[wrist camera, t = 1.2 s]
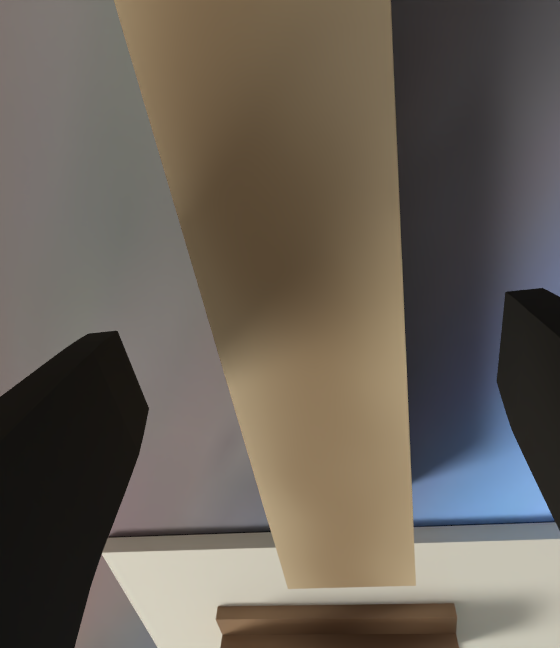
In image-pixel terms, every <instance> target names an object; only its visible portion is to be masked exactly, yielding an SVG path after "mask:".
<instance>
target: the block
mask: <svg viewBox="0 0 560 648" xmlns="http://www.w3.org/2000/svg"><path fill="white" fill-rule="evenodd" d="M216 622H217V624H218V626H219V629H220V631H221V633H222V640H221V647H220V648H459V645H458V640H457V635H456V628H457V614H456V609H455V605H454V603H430V604H356V605H282V606H218V608H217V614H216Z"/></svg>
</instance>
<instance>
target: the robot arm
mask: <svg viewBox="0 0 560 648" xmlns="http://www.w3.org/2000/svg"><path fill="white" fill-rule="evenodd" d="M497 384H498V388H499V391H500V394H501V398H502V401H503V404H504V408H505V411H506V414H507V417H508V420H509V423H510V426H511V429H512V431H513V434H514V436H515V438H516V440H517V442H518V444H519V447H520V449H521V451H522V453H523V455H524V457H525V459H526V461H527V464H528V466H529V468H530V470H531V472H532V474H533V476H534V478H535V480H536V483H537V485H538V487H539V489H540V491H541V493H542V495H543V497H544V499H545V501H546V503H547V506H548V508H549V510H550V512H551V514H552V516H553V518H554V520H555V522H556V524H557V526H558V529H559V531H560V297H559V296H557V295H555V294H553V293H551V292H549V291H547V290H545V289H543V288H539V289H529V290H519V291H509V292H505V302H504V312H503V322H502V333H501V343H500V353H499V363H498V373H497ZM148 410H149V408H148V405H147V403H146V400H145V398H144V395H143V393H142V390H141V388H140V385H139V383H138V380H137V378H136V375H135V373H134V371H133V368H132V366H131V363H130V361H129V358H128V356H127V353H126V351H125V348H124V346H123V343H122V341H121V338H120V336H119V333H118V331H110V332H100V333H90V334H87V335H85V336H84V337H82V338H80V339H79V340H77V341H76V342H74V343H73V344H71V345H70V346H68V347H67V348H65V349H64V350H63V351H61V352H60V353H58V354H57V355H56V356H54V357H53V358H52V359H50V360H49V361H48V362H46V363H45V364H44V365H42V366H41V367H40V368H38V369H37V370H36V371H34V372H33V373H32V374H30V375H29V376H28V377H26V378H25V379H24V380H22V381H21V382H20V383H18V384H17V385H16V386H14V387H13V388H12V389H10V390H9V391H8V392H6V393H5V394H4V395H2V396H1V397H0V648H74V647H75V643H76V639H77V636H78V632H79V628H80V624H81V621H82V617H83V613H84V609H85V606H86V602H87V598H88V594H89V591H90V587H91V584H92V581H93V578H94V575H95V572H96V569H97V566H98V563H99V560H100V557H101V555H102V552H103V549H104V547H105V544H106V541H107V539H108V536H109V533H110V531H111V528H112V525H113V523H114V520H115V518H116V515H117V512H118V510H119V507H120V504H121V502H122V499H123V496H124V494H125V491H126V488H127V486H128V483H129V480H130V478H131V475H132V472H133V469H134V467H135V464H136V461H137V458H138V455H139V452H140V448H141V443H142V439H143V435H144V430H145V425H146V420H147V415H148Z"/></svg>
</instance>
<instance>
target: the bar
mask: <svg viewBox="0 0 560 648" xmlns="http://www.w3.org/2000/svg"><path fill="white" fill-rule="evenodd" d="M114 2H115V5H116V9H117V12H118V16H119V19H120V22H121V26H122V29H123V32H124V36H125V39H126V43H127V46H128V49H129V53H130V56H131V60H132V63H133V66H134V70H135V73H136V76H137V80H138V83H139V87H140V90H141V93H142V97H143V100H144V104H145V107H146V110H147V114H148V117H149V120H150V124H151V127H152V131H153V134H154V137H155V141H156V144H157V147H158V151H159V154H160V158H161V161H162V164H163V168H164V171H165V175H166V178H167V181H168V185H169V188H170V191H171V195H172V198H173V202H174V205H175V208H176V212H177V215H178V219H179V222H180V225H181V229H182V232H183V235H184V239H185V242H186V246H187V249H188V252H189V256H190V259H191V263H192V266H193V269H194V273H195V276H196V279H197V283H198V286H199V290H200V293H201V296H202V300H203V303H204V307H205V310H206V313H207V317H208V320H209V323H210V327H211V330H212V334H213V337H214V340H215V344H216V347H217V351H218V354H219V357H220V361H221V364H222V367H223V371H224V374H225V378H226V381H227V384H228V388H229V391H230V395H231V398H232V401H233V405H234V408H235V411H236V415H237V418H238V422H239V425H240V428H241V432H242V435H243V438H244V442H245V445H246V449H247V452H248V455H249V459H250V462H251V466H252V469H253V472H254V476H255V479H256V482H257V486H258V489H259V493H260V496H261V499H262V503H263V506H264V510H265V513H266V516H267V520H268V523H269V526H270V530H271V533H272V537H273V540H274V543H275V547H276V550H277V554H278V557H279V560H280V564H281V567H282V570H283V574H284V577H285V581H286V584H287V587H288V589H308V588H347V587H386V586H416V574H415V551H414V528H413V505H412V482H411V459H410V436H409V413H408V390H407V366H406V343H405V320H404V297H403V274H402V251H401V228H400V205H399V181H398V158H397V135H396V112H395V89H394V66H393V43H392V20H391V0H114Z"/></svg>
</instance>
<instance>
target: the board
mask: <svg viewBox="0 0 560 648" xmlns="http://www.w3.org/2000/svg"><path fill="white" fill-rule="evenodd" d="M413 528H414V551H415V574H416V586H386V587H347V588H308V589H288V587H287V584H286V581H285V577H284V574H283V570H282V567H281V564H280V560H279V557H278V554H277V550H276V547H275V543H274V540H273V537H272V533H271V532H262V533H233V534H204V535H175V536H146V537H117V538H108V539H107V541H106V544H105V547H104V549H103V552H102V555H103V557H104V559H105V560H106V562H107V564H108V565H109V567H110V569H111V570H112V572H113V574H114V575H115V577H116V579H117V580H118V582H119V584H120V585H121V587H122V589H123V590H124V592H125V594H126V595H127V597H128V599H129V600H130V602H131V604H132V605H133V607H134V609H135V610H136V612H137V614H138V615H139V617H140V619H141V620H142V622H143V624H144V625H145V627H146V629H147V630H148V632H149V634H150V635H151V637H152V639H153V640H154V642H155V644H156V645H157V647H158V648H220V647H221V640H222V633H221V631H220V629H219V626H218V624H217V622H216V614H217V608H218V606H282V605H356V604H430V603H454V605H455V609H456V614H457V628H456V635H457V640H458V645H459V648H560V531H559V529H558V526H557V524H556V522H550V523H521V524H493V525H464V526H435V527H413Z"/></svg>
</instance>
